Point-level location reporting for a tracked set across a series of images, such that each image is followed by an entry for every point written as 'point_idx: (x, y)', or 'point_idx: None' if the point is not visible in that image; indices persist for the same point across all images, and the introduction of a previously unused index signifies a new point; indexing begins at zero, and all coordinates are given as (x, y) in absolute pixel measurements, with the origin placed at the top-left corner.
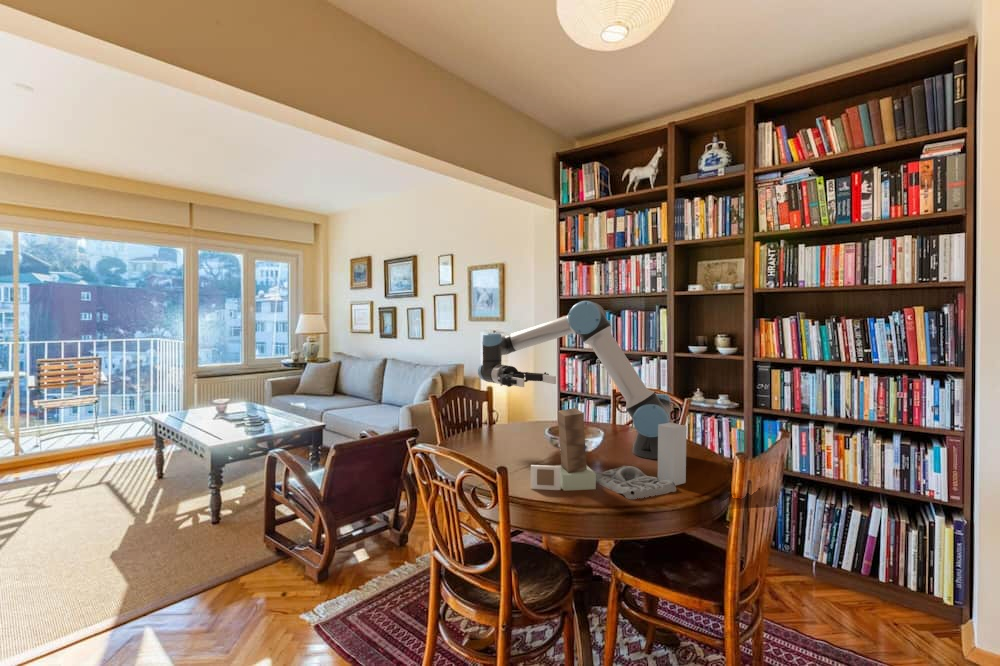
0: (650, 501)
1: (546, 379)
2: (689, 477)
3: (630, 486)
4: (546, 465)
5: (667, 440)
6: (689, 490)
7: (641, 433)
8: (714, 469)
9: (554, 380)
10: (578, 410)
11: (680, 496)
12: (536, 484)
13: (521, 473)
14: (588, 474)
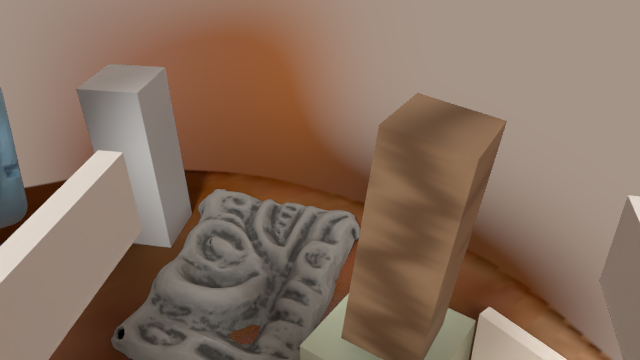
0: (332, 205)
1: (44, 310)
2: None
3: (300, 244)
4: (528, 348)
5: (162, 117)
6: (198, 189)
7: (24, 215)
8: None
9: (131, 194)
10: (401, 109)
11: (252, 187)
12: None
13: None
14: None
